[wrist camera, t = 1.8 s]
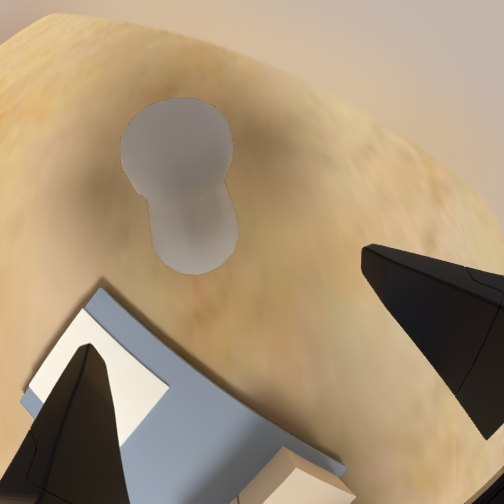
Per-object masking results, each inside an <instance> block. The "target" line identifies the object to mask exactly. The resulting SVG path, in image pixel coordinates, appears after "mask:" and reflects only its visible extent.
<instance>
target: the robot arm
mask: <svg viewBox="0 0 504 504" xmlns="http://www.w3.org/2000/svg"><path fill="white" fill-rule="evenodd" d="M361 270H362V273H363V275H364V276H365V278H366V279H367V281H368V282H369V284H370V285H371V287H372V288H373V290H374V291H375V293H376V294H377V296H378V297H379V299H380V300H381V302H382V303H383V304H384V306H385V307H386V308H387V310H388V311H389V312H390V313H391V315H392V316H393V317H394V318H395V320H396V321H397V322H398V323H399V324H400V326H401V327H402V328H403V329H404V331H405V332H406V333H407V334H408V336H409V337H410V338H411V339H412V341H413V342H414V343H415V344H416V346H417V347H418V348H419V349H420V351H421V352H422V353H423V355H424V356H425V357H426V358H427V360H428V361H429V362H430V364H431V365H432V366H433V367H434V369H435V370H436V371H437V373H438V374H439V375H440V377H441V378H442V379H443V381H444V382H445V383H446V385H447V386H448V387H449V389H450V390H451V392H452V393H453V394H454V395H455V397H456V399H457V400H458V401H459V403H460V404H461V406H462V407H463V408H464V410H465V411H466V413H467V414H468V415H469V417H470V418H471V420H472V421H473V423H474V424H475V426H476V427H477V428H478V430H479V431H480V433H481V434H482V436H483V437H484V438H485V440H488V439H489V438H490V437H491V436H492V435H493V434H494V433H495V432H496V431H497V430H498V429H499V427H500V426H501V425H502V424H503V423H504V276H503V275H498V274H494V273H489V272H485V271H481V270H477V269H473V268H469V267H464V266H462V265H458V264H454V263H450V262H446V261H442V260H438V259H435V258H431V257H427V256H423V255H419V254H415V253H411V252H407V251H402V250H398V249H394V248H390V247H386V246H382V245H377V244H370V245H367V246H365V247H363V248H362V252H361ZM0 504H130V500H129V496H128V491H127V486H126V481H125V476H124V471H123V465H122V459H121V453H120V446H119V440H118V432H117V424H116V416H115V408H114V403H113V398H112V393H111V388H110V383H109V377H108V372H107V366H106V363H105V361H104V359H103V358H102V357H101V355H100V354H99V352H98V351H97V350H96V348H95V347H94V346H93V344H91V343H87V344H84V345H81V346H79V347H78V349H77V350H76V352H75V353H74V355H73V356H72V358H71V360H70V361H69V363H68V364H67V366H66V368H65V369H64V371H63V372H62V374H61V376H60V377H59V379H58V381H57V382H56V384H55V386H54V387H53V389H52V391H51V392H50V394H49V396H48V397H47V399H46V401H45V402H44V404H43V406H42V408H41V409H40V411H39V413H38V415H37V417H36V418H35V420H34V422H33V424H32V426H31V430H29V431H28V433H27V435H26V437H25V439H24V440H23V442H22V444H21V446H20V448H19V450H18V451H17V453H16V455H15V456H14V458H13V460H12V462H11V463H10V465H9V467H8V468H7V470H6V472H5V473H4V475H3V477H2V478H1V480H0ZM464 504H504V466H503V467H502V468H501V469H500V470H499V471H498V472H497V473H496V474H495V475H494V476H493V477H492V478H491V479H490V480H489V481H488V482H487V483H486V484H485V485H484V486H483V487H482V488H481V489H480V490H479V491H478V492H476V493H475V494H474V495H473V496H472V497H471V498H470V499H469V500H467V501H466V502H465V503H464Z"/></svg>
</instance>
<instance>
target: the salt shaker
mask: <svg viewBox="0 0 504 504" xmlns="http://www.w3.org/2000/svg"><path fill="white" fill-rule="evenodd" d="M233 153H234V148H233V142H232V136H231V131H230V126H229V122H228V120H227V119H226V118H225V117H224V116H223V115H222V114H221V113H220V112H219V110H218V109H217V108H216V107H215V106H213V105H210V104H208V103H205V102H203V101H201V100H198V99H196V98H170V99H166V100H163V101H160V102H157V103H154V104H151V105H149V106H148V107H146V108H145V109H144V110H142V111H141V112H140V113H139V114H137V115H136V116H135V117H133V118H132V119H131V121H130V122H129V124H128V126H127V127H126V129H125V131H124V132H123V134H122V136H121V140H120V160H121V166H122V169H123V171H124V172H125V174H126V176H127V178H128V179H129V181H130V183H131V185H132V186H133V188H134V189H135V191H136V193H137V194H139V195H141V196H143V197H144V198H146V199H147V205H148V213H149V221H150V229H151V240H152V247H153V249H154V250H155V252H156V253H157V255H158V257H159V258H160V260H161V261H162V263H164V264H166V265H167V266H169V267H171V268H172V269H174V270H176V271H178V272H179V273H182V274H195V275H202V274H204V273H207V272H209V271H212V270H214V269H217V268H219V267H220V266H221V265H222V264H223V263H224V262H225V261H226V260H227V259H228V258H229V257H230V256H231V255H232V254H233V252H234V250H235V247H236V243H237V240H238V236H239V227H238V221H237V215H236V212H235V209H234V206H233V203H232V200H231V198H230V195H229V192H228V189H227V186H226V184H225V179H226V176H227V173H228V170H229V167H230V164H231V162H232V158H233Z"/></svg>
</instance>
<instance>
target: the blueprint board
mask: <svg viewBox="0 0 504 504" xmlns="http://www.w3.org/2000/svg"><path fill="white" fill-rule="evenodd" d="M87 343H91V344H93V346H94V347H95V348H96V350H97V351H98V352H99V354H100V355H101V357H102V358H103V359H104V361H105V363H106V366H107V372H108V377H109V383H110V388H111V393H112V398H113V403H114V408H115V416H116V424H117V432H118V440H119V446H120V453H121V459H122V465H123V471H124V476H125V481H126V486H127V491H128V496H129V500H130V504H351V502H352V501H353V500H354V499H355V498H356V496H355V495H354V494H353V493H352V492H351V491H350V490H349V488H348V487H347V486H346V485H345V484H344V483H343V482H342V481H341V480H340V479H339V478H340V477H341V476H342V474H343V473H344V472H345V471H346V470H347V467H346V466H345V465H344V464H342V463H341V462H339V461H337V460H335V459H333V458H331V457H329V456H328V455H326V454H324V453H322V452H320V451H319V450H317V449H315V448H313V447H312V446H310V445H308V444H306V443H305V442H303V441H301V440H300V439H298V438H296V437H295V436H293V435H291V434H290V433H288V432H286V431H285V430H283V429H282V428H280V427H278V426H277V425H275V424H274V423H272V422H271V421H269V420H268V419H266V418H264V417H263V416H261V415H260V414H258V413H257V412H255V411H254V410H252V409H251V408H250V407H248V406H247V405H245V404H244V403H242V402H241V401H239V400H238V399H237V398H235V397H234V396H232V395H231V394H229V393H228V392H227V391H225V390H224V389H223V388H221V387H220V386H218V385H217V384H216V383H214V382H213V381H212V380H210V379H209V378H208V377H206V376H205V375H204V374H202V373H201V372H200V371H199V370H197V369H196V368H195V367H193V366H192V365H191V364H190V363H188V362H187V361H186V360H185V359H183V358H182V357H181V356H180V355H178V354H177V353H176V352H175V351H173V350H172V349H171V348H170V347H169V346H167V345H166V344H165V343H164V342H163V341H161V340H160V339H159V338H158V337H157V336H156V335H154V334H153V333H152V332H151V331H150V330H149V329H148V328H146V327H145V326H144V325H143V324H142V323H141V322H140V321H139V320H137V319H136V318H135V317H134V316H133V315H132V314H131V313H130V312H129V311H128V310H126V309H125V308H124V307H123V306H122V305H121V304H120V303H119V302H118V301H117V300H116V299H115V298H114V297H113V296H112V295H111V294H110V293H108V292H107V291H106V290H105V289H103V288H101V287H100V288H99V289H98V291H97V292H96V293H95V294H94V296H93V297H92V298H91V300H90V301H89V302H88V303H87V305H86V306H85V307H84V308H82V310H81V311H80V312H79V314H78V315H77V316H76V318H75V319H74V320H73V322H72V323H71V324H70V326H69V327H68V328H67V330H66V331H65V333H64V334H63V335H62V337H61V338H60V340H59V341H58V342H57V344H56V345H55V347H54V348H53V350H52V351H51V352H50V354H49V355H48V357H47V358H46V360H45V361H44V363H43V364H42V366H41V367H40V369H39V370H38V372H37V373H36V375H35V376H34V378H33V380H32V381H31V383H30V384H29V388H28V389H27V391H26V392H25V394H24V396H23V397H22V399H21V401H20V403H21V404H22V405H23V406H24V408H25V409H26V410H27V411H28V412H29V413H30V415H31V416H32V417H33V418H34V419H35V418H36V417H37V415H38V413H39V411H40V409H41V408H42V406H43V404H44V402H45V401H46V399H47V397H48V396H49V394H50V392H51V391H52V389H53V387H54V386H55V384H56V382H57V381H58V379H59V377H60V376H61V374H62V372H63V371H64V369H65V368H66V366H67V364H68V363H69V361H70V360H71V358H72V356H73V355H74V353H75V352H76V350H77V349H78V347H79V346H81V345H84V344H87Z"/></svg>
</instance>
